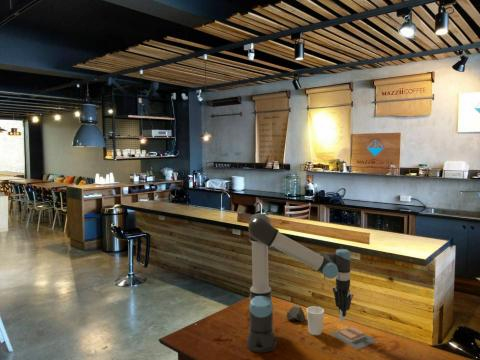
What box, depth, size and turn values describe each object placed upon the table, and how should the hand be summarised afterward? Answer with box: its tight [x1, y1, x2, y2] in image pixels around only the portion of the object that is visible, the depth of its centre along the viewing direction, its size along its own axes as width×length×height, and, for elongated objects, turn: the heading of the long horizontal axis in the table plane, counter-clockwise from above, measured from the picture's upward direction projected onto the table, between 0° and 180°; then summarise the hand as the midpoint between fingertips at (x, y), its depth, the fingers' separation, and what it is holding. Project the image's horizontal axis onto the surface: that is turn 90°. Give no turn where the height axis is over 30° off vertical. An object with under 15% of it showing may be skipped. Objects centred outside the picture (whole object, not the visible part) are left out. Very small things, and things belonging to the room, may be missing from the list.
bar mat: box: [330, 326, 378, 350], centre depth 195 cm, size 15×18×1 cm
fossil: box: [286, 303, 306, 323], centre depth 219 cm, size 11×9×10 cm
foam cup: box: [306, 306, 325, 336], centre depth 200 cm, size 10×9×13 cm
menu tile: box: [338, 326, 365, 342], centre depth 196 cm, size 10×2×8 cm
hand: (342, 321), depth 201 cm, fingers closed
